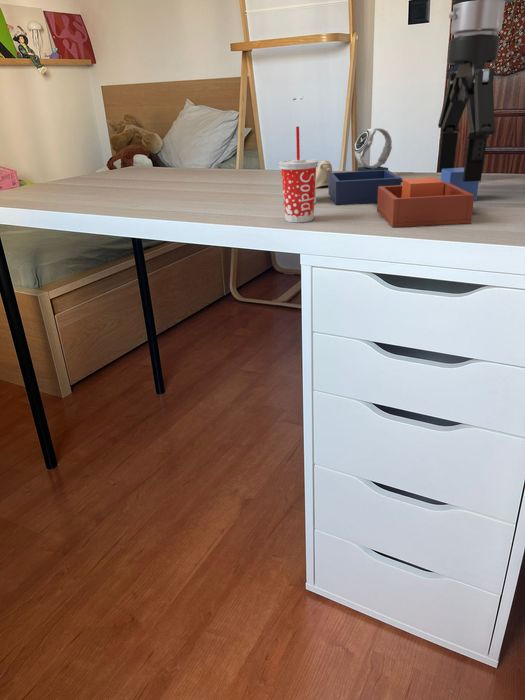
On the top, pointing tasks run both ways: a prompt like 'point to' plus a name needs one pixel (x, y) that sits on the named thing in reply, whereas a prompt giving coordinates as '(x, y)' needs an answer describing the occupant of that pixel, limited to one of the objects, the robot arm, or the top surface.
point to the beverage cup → (298, 186)
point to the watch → (363, 145)
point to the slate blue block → (459, 180)
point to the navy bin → (359, 185)
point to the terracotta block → (422, 187)
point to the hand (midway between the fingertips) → (457, 175)
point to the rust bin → (425, 207)
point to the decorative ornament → (323, 173)
